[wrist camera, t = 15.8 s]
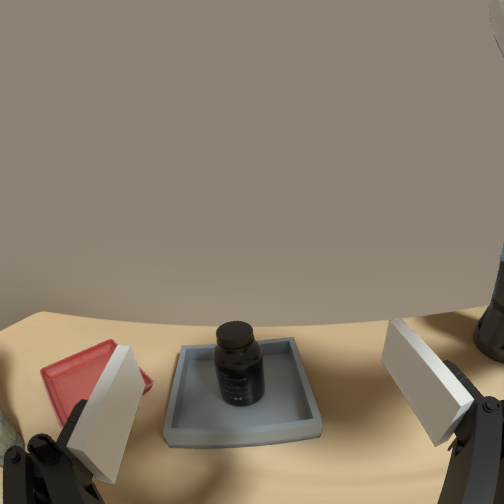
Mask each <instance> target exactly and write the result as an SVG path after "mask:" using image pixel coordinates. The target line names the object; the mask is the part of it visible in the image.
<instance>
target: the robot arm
mask: <svg viewBox="0 0 504 504" xmlns="http://www.w3.org/2000/svg"><path fill="white" fill-rule="evenodd" d="M489 16H490V22H491V26H492V29H493V33H494V36H495V39H496V42H497V44H498V47H499V49H500V51H501V53H502V55H503V57H504V0H490V1H489ZM474 341H475V343H476V345H477V346H478V348H479V349H480V350H481V351H482V352H483V353H484V354H486V355H487V356H489V357H491V358H493V359H495V360H498V361H501V362H504V244H503V249H502V253H501V255H500V265H499V270H498V275H497V279H496V283H495V288H494V291H493V295H492V299H491V302H490V304H489V306H488V307H487V309H486V311H485V312H484V314H483V315H482V317H481V318H480V320H479V321H478V323H477V325H476V328H475V331H474ZM381 362H382V363H383V365H384V366H385V368H386V369H387V371H388V372H389V374H390V375H391V377H392V378H393V380H394V381H395V383H396V384H397V386H398V388H399V389H400V391H401V392H402V394H403V395H404V397H405V398H406V400H407V402H408V403H409V405H410V406H411V408H412V410H413V411H414V413H415V414H416V416H417V418H418V419H419V421H420V422H421V424H422V426H423V427H424V429H425V431H426V432H427V434H428V436H429V437H430V439H431V441H432V442H433V444H434V446H435V447H436V446H438V445H440V444H442V443H444V442H446V441H448V440H449V438H450V437H451V436H452V434H453V433H455V435H456V436H457V437H456V438H455V439H454V441H453V442H452V443H451V445H450V446H449V448H448V450H447V451H450V449H451V448H452V447H453V449H452V454H451V458H450V462H449V466H448V470H447V474H446V478H445V481H444V484H443V488H442V491H441V494H440V497H439V500H438V503H437V504H504V400H501V401H499V400H498V399H496V398H495V397H491V396H486V397H484V396H483V395H482V394H481V393H480V392H479V391H478V390H477V388H476V387H475V386H474V385H473V384H472V383H471V382H470V380H469V379H468V378H466V376H465V375H464V374H463V373H461V370H460V369H459V368H458V367H457V366H456V365H455V364H453V363H452V362H450V361H448V360H445V361H441V360H440V359H439V358H438V357H437V355H436V354H435V353H434V352H433V351H432V350H431V349H430V348H429V347H428V345H427V344H426V343H425V342H424V341H423V340H422V339H421V338H420V337H419V336H418V335H417V334H416V333H415V331H414V330H413V329H412V328H411V327H410V326H409V325H408V324H407V323H406V322H405V321H404V320H403V319H402V318H396V319H392V320H389V324H388V329H387V334H386V339H385V344H384V349H383V353H382V358H381ZM144 388H145V382H144V380H143V377H142V375H141V372H140V370H139V367H138V365H137V362H136V359H135V357H134V354H133V351H132V348H131V346H122V345H117V347H116V349H115V351H114V353H113V354H112V356H111V358H110V360H109V362H108V363H107V365H106V367H105V369H104V371H103V373H102V375H101V376H100V378H99V380H98V382H97V384H96V386H95V388H94V390H93V392H92V394H91V396H90V398H89V400H86V399H81V400H80V401H79V402H78V403H77V404H76V405H75V406H74V408H73V409H72V411H71V413H70V416H69V417H68V419H67V422H66V423H65V425H64V427H63V429H62V431H61V433H60V435H59V437H58V439H57V442H56V443H55V442H54V440H53V439H52V438H51V437H50V436H48V435H47V434H37V435H35V436H33V437H32V438H31V439H30V440H29V443H28V445H27V450H28V451H29V452H30V453H26V451H25V450H24V449H23V448H21V447H20V446H16V445H15V446H11V447H10V448H8V449H7V450H6V452H5V455H4V464H3V504H105V503H104V501H103V499H102V497H101V496H100V494H99V492H98V490H97V488H96V486H95V484H94V483H93V482H92V477H93V475H94V476H95V477H96V478H97V479H98V480H99V481H101V482H105V483H110V484H114V485H115V483H116V480H117V476H118V472H119V468H120V465H121V461H122V458H123V454H124V451H125V448H126V444H127V441H128V438H129V434H130V431H131V428H132V425H133V421H134V418H135V415H136V412H137V409H138V406H139V403H140V400H141V397H142V394H143V391H144Z"/></svg>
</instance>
